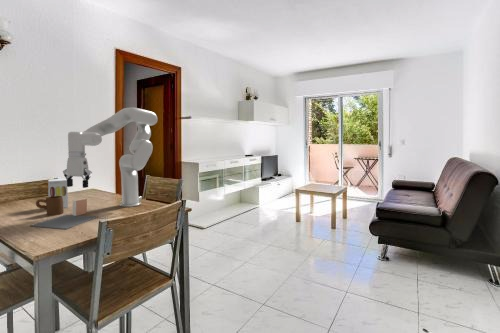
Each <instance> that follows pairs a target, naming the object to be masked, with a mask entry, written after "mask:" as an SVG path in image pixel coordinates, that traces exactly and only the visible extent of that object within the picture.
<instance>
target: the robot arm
mask: <svg viewBox="0 0 500 333" xmlns="http://www.w3.org/2000/svg"><path fill="white" fill-rule="evenodd" d="M131 122H132V123H133V122H135V124H136V127H137V130H136V134H135V135H134V138H133V139H132V141H131V143H130V145H129V148H128V149H129V152H130V153H131V154H130V153H129V154H123V155H121V157H120V159H119V161H118V164H119V170H120V180H121V184H120V185H121V202H119V207H122V208H124V207H125V208H129V207H137V206H140V205H142V201H141V200H142V199H143V196H141V195H140V196H139V176H138V175H139V174H138V172H137V171H141V170H143V169H144V168H145V166H146V165H147V162H148V161H149V158H150V157H151V155H152V153H153V148H154V147H153V145H154V144H153V143H152V141H150V138H151V136H152V130H151V128H150V126H151V127H152V126H154V125H156V124H157V123H158V116H157V114H156V113H155V112H153V111H150V110H146V109H142V108H138V107H134V106H132V107H126V108H125V107H124V108H122V109H121V110H118V111H117V112H116V113H114V114H112V115H111V116H109V117H107V118H106V119H104V120H102V121H100V122H98V123H97V124H94V125H92V126H90V127H88V128H87V129H86V130H84V131H70V132H68V133H67V146H68V147H67V148H68V149H67V150H68V152H67V154H68V155H67V156H68V157H67V160H66V169H64V170H62V173H63V176H64V177H65V179H67V188H70V187H73V186H74V181H73V180H74V179H73V177H79V178H80V177H81V178H82V188H83V189H86V188H88V187H89V180H90V178H91V177H92V175H93V171H91V170H90V169H89V163H88V159H87V157H86V156H87V153H86V146H88V147H89V146H91V147H94V146H99V145H100V144H101V143H102V141H103V138H102V137H104V136H106V135H109V134H113V133H115V132H119V131H120V130H121V129H122V128H124V127H125V126H127V125H128V124H129V123H131Z"/></svg>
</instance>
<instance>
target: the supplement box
mask: <svg viewBox="0 0 500 333" xmlns="http://www.w3.org/2000/svg"><path fill="white" fill-rule="evenodd" d="M47 183H48V188H47V190H48V192H47V194H48V196H47V197H52V196H62V197H63V209H68V208H69V195H68V194H69V192H68V188H69V187H67V179H66V178H53V179H51V178H50V179H48V182H47Z"/></svg>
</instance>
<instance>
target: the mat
mask: <svg viewBox="0 0 500 333" xmlns="http://www.w3.org/2000/svg"><path fill="white" fill-rule="evenodd" d="M96 219H99V216H89V215H77V216H74V215H73V214H63V215H61V216H58V217H53V218H50V219H48V220H43V221H41V222H37V223H33V224H31V225H30V226H29V227H31V228H32V227H34V228H45V229H58V230H59V229H60V230H69V229H71V228H73V227H76V226H79V225H82V224H84V223H87V222H89V221H93V220H96Z"/></svg>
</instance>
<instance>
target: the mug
mask: <svg viewBox="0 0 500 333" xmlns="http://www.w3.org/2000/svg"><path fill="white" fill-rule="evenodd" d="M41 203H45V204H41ZM35 205H36V207H37V208H38V209H43V210H46V215H47V216H59V215H62V214H63V215H64V208H63V197H62V196H52V197H49V196H47V197H45V199H44V198H40V199H37V200H36V201H35Z"/></svg>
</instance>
